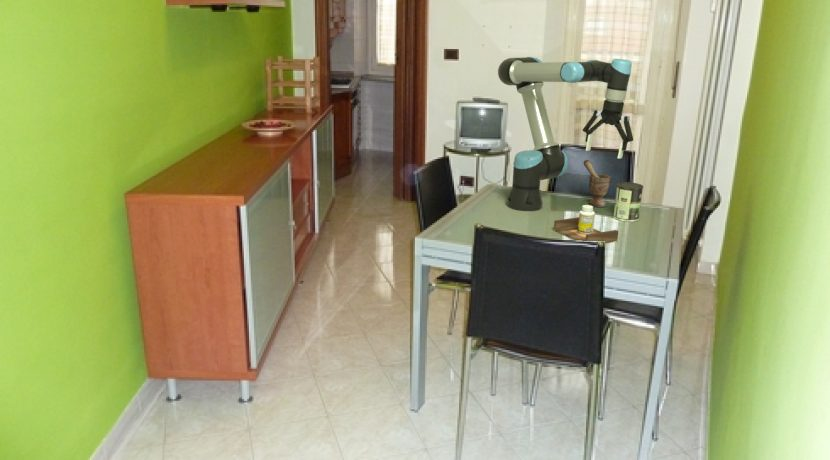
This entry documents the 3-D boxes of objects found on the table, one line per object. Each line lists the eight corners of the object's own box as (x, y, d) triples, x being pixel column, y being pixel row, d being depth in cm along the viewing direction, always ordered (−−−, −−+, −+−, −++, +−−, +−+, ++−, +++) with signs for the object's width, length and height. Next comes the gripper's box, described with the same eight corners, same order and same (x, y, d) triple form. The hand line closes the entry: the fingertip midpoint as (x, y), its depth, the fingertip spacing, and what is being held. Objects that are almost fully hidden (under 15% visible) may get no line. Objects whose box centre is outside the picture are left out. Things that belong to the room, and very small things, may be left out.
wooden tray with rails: (553, 230, 255) (554, 220, 254) (582, 226, 261) (583, 216, 260) (587, 246, 239) (588, 235, 238) (617, 241, 245) (618, 231, 244)
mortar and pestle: (587, 208, 285) (592, 163, 278) (576, 203, 292) (581, 158, 286) (610, 207, 288) (616, 162, 282) (599, 201, 296) (604, 157, 290)
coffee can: (637, 215, 277) (641, 182, 273) (640, 222, 267) (644, 189, 263) (611, 213, 279) (615, 181, 274) (613, 220, 269) (617, 187, 265)
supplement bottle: (581, 229, 254) (584, 203, 250) (595, 232, 250) (598, 206, 247) (574, 232, 249) (577, 206, 246) (588, 235, 246) (591, 209, 243)
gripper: (649, 105, 252) (637, 160, 259) (589, 94, 266) (579, 146, 273) (641, 106, 246) (629, 162, 253) (580, 95, 260) (570, 148, 267)
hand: (603, 154), depth 263 cm, fingers open, 13 cm apart
